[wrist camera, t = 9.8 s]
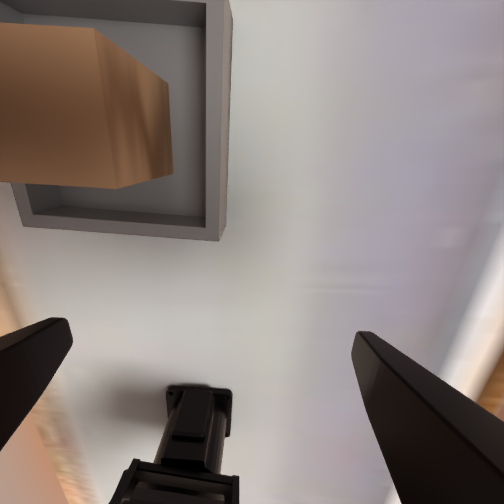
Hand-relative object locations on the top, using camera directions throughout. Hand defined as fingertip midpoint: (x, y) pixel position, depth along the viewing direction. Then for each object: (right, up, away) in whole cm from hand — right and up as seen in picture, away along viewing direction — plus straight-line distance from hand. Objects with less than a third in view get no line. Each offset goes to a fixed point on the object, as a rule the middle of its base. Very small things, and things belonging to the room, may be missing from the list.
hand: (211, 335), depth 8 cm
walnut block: (-6, +10, +8) cm, 14 cm away
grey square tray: (-6, +11, +8) cm, 15 cm away
